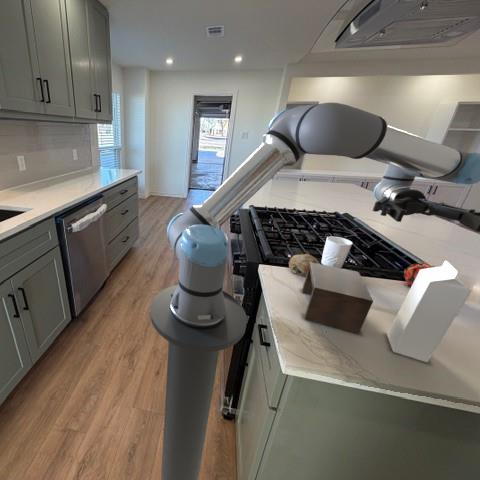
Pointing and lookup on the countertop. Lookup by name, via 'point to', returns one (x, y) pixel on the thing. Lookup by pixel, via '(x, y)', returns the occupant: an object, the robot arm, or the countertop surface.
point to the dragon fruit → (414, 272)
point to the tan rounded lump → (301, 263)
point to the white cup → (335, 251)
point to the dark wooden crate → (336, 297)
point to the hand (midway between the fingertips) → (439, 220)
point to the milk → (427, 312)
